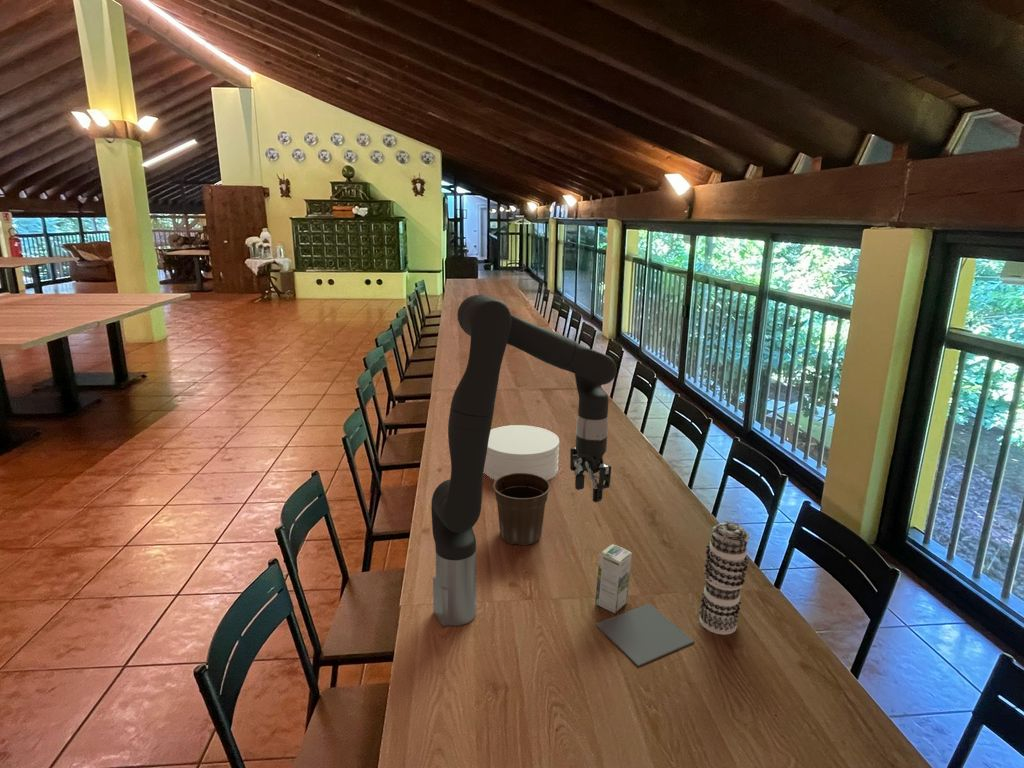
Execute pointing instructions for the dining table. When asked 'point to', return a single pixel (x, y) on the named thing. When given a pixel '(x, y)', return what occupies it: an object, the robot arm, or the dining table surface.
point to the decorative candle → (724, 578)
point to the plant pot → (521, 506)
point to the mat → (644, 634)
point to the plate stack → (522, 452)
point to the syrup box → (613, 578)
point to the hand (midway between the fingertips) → (588, 494)
